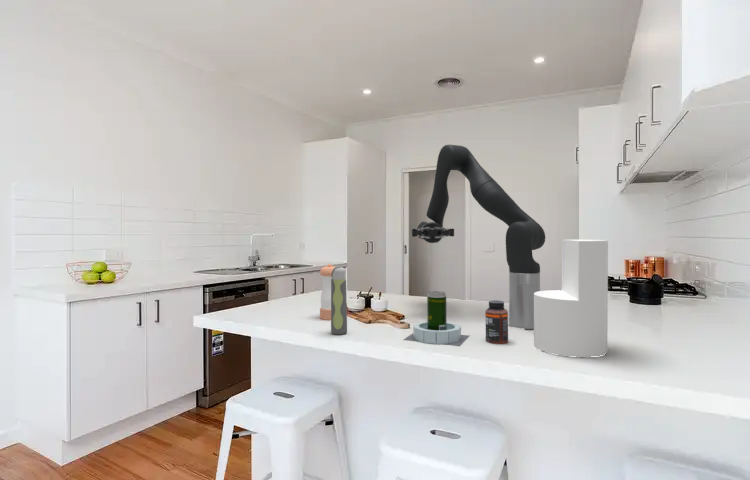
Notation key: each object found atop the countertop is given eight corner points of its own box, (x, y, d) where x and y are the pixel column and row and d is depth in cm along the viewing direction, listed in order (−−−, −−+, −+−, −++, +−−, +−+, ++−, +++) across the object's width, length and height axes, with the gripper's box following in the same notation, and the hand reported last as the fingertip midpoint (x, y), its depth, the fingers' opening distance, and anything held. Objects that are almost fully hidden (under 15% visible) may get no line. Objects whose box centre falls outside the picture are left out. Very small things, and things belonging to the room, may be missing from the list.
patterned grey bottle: (346, 335, 124) (345, 267, 123) (329, 335, 124) (329, 267, 123) (348, 331, 128) (347, 266, 128) (332, 331, 129) (331, 266, 128)
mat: (469, 336, 120) (469, 335, 120) (459, 347, 110) (459, 346, 110) (417, 331, 127) (417, 330, 127) (402, 341, 116) (402, 339, 116)
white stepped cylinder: (595, 340, 115) (595, 239, 114) (618, 360, 98) (618, 241, 98) (529, 338, 119) (529, 239, 118) (540, 356, 102) (540, 241, 101)
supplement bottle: (508, 340, 116) (508, 300, 116) (507, 346, 110) (507, 303, 110) (486, 339, 118) (486, 299, 118) (484, 344, 112) (484, 302, 112)
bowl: (465, 334, 121) (465, 323, 121) (453, 346, 110) (453, 333, 110) (422, 330, 127) (422, 319, 127) (407, 340, 115) (407, 329, 115)
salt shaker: (315, 318, 148) (315, 264, 148) (330, 315, 154) (330, 262, 153) (329, 321, 143) (329, 265, 143) (344, 317, 149) (344, 263, 148)
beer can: (450, 334, 118) (450, 292, 118) (437, 338, 115) (437, 294, 114) (436, 331, 122) (436, 290, 122) (423, 334, 119) (423, 292, 118)
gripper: (411, 222, 154) (411, 221, 137) (451, 222, 152) (455, 221, 136) (412, 242, 154) (412, 244, 138) (451, 242, 152) (455, 244, 136)
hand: (433, 232), depth 137 cm, fingers open, 8 cm apart
